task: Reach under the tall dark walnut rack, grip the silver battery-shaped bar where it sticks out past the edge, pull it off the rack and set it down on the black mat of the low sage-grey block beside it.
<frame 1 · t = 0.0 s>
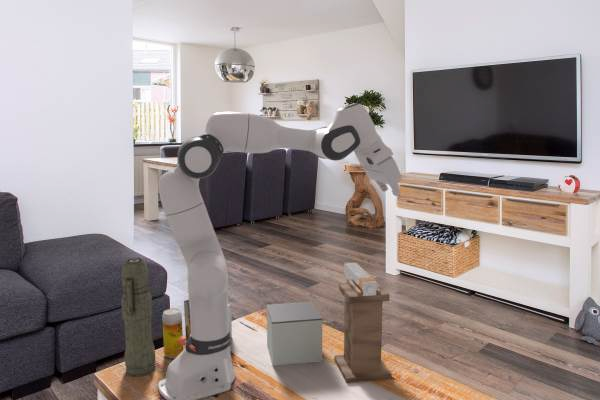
hand: (391, 192, 144), 54 cm above the table, tool tilted 30°, fingers open, 8 cm apart
coffee box: (201, 346, 162), on the table
thermos: (140, 369, 147), on the table
stand: (361, 368, 146), on the table
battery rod: (359, 284, 146), point 26 cm above the table, touching stand
beer can: (173, 355, 156), on the table
skincare box: (222, 337, 169), on the table
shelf: (293, 352, 157), on the table
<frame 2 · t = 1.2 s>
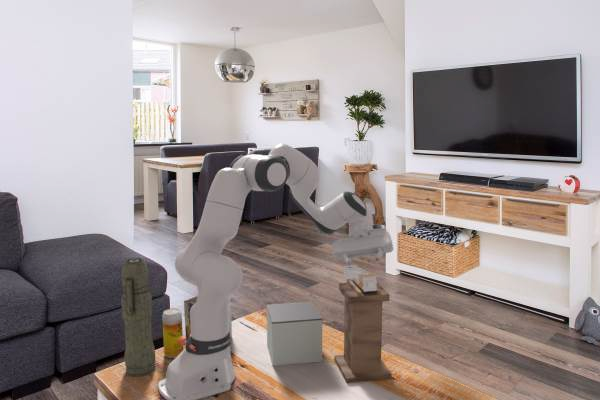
hand: (363, 261, 152), 31 cm above the table, tool tilted 65°, fingers open, 8 cm apart
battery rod: (359, 283, 146), point 26 cm above the table, tilted 6°, touching gripper
everything else where it was.
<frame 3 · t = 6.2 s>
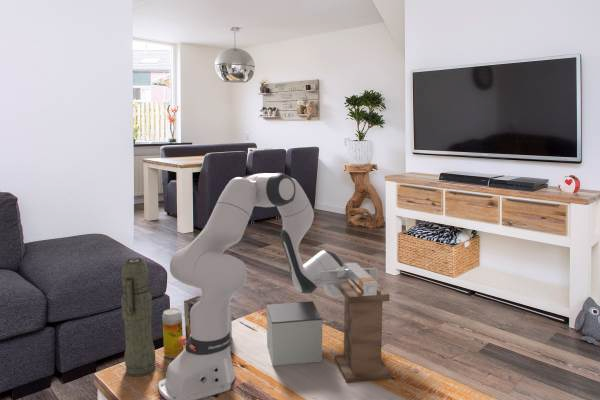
hand: (353, 271, 151), 28 cm above the table, tool pointing upward, fingers closed on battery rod, 4 cm apart
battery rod: (359, 284, 146), point 26 cm above the table, touching gripper, stand
everything else where it was.
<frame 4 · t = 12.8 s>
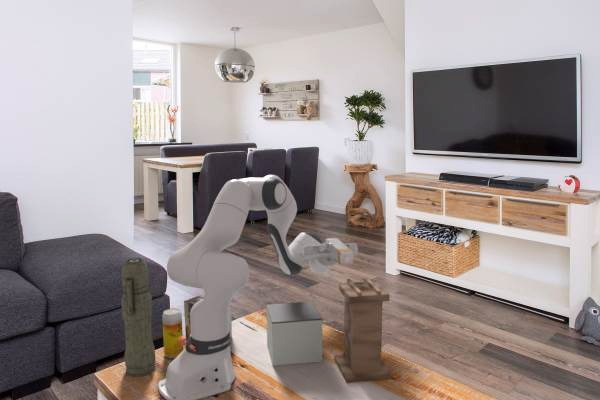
hand: (334, 245, 165), 33 cm above the table, tool pointing upward, fingers closed on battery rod, 4 cm apart
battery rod: (338, 256, 160), point 31 cm above the table, touching gripper
everything else where it was.
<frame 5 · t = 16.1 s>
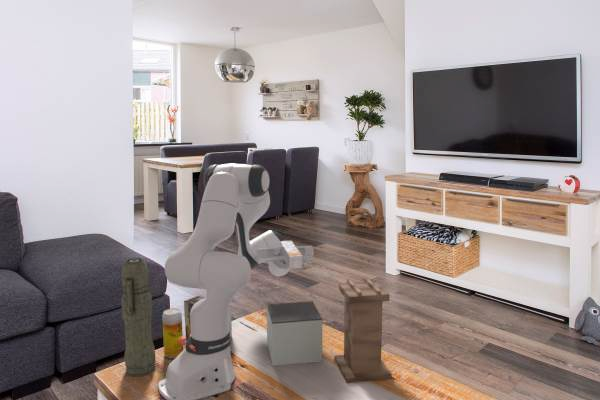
hand: (287, 248, 162), 33 cm above the table, tool pointing upward, fingers closed on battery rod, 4 cm apart
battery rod: (290, 259, 157), point 31 cm above the table, touching gripper
everything else where it was.
when the fingers open (20 cm above the table, at t = 19.2 s): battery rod drops 4 cm, resting on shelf.
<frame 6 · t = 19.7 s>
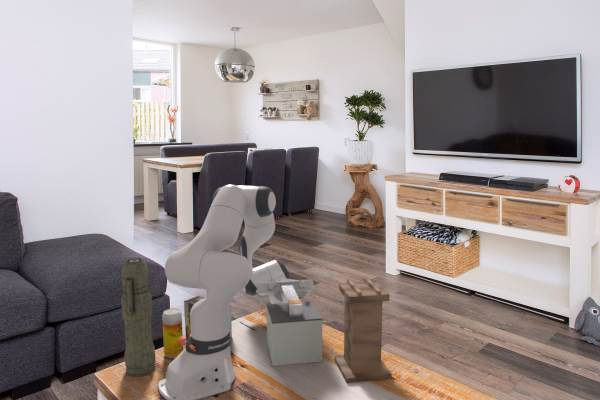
hand: (288, 283, 164), 20 cm above the table, tool pointing upward, fingers open, 8 cm apart
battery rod: (290, 305, 159), point 14 cm above the table, touching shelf
everything else where it was.
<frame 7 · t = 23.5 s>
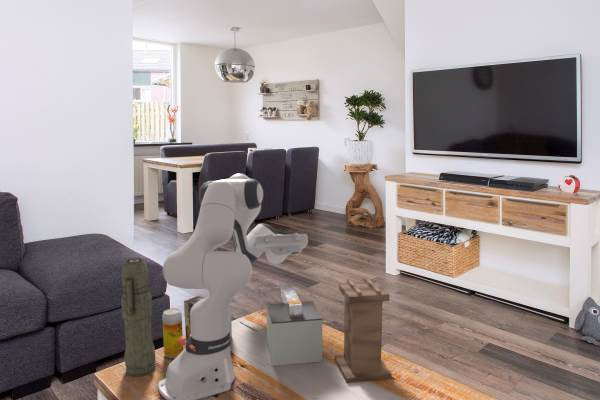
hand: (283, 235, 173), 35 cm above the table, tool pointing upward, fingers open, 8 cm apart
nothing on the table moved.
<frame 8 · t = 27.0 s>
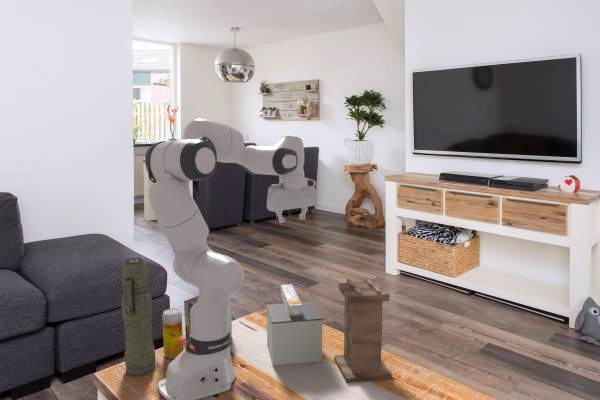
hand: (292, 220, 168), 41 cm above the table, tool pointing down, fingers open, 8 cm apart
nothing on the table moved.
at the end: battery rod inside the target area on the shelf (4.6 cm from its centre), point 14.5 cm above the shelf's base; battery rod touching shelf; the gripper is holding nothing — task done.
